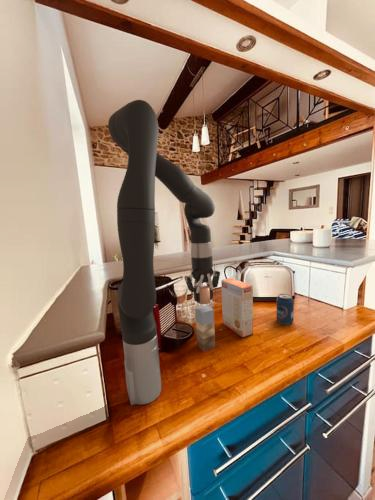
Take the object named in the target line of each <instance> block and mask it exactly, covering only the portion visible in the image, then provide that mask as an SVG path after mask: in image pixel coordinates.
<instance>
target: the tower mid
mask: <svg viewBox="0 0 375 500" xmlns="http://www.w3.org/2000/svg"><path fill="white" fill-rule="evenodd" d="M195 329H196V330H195V331H196V335H197V334H198V335H199V336H200V337H201V338H203V339H204V338H207V337H210V336H213V335H215V334H216V332H215V322H214V323H211V324H207V325H204V326H202V325H201V324H199V323H198V322H197V321H196V320H195Z"/></svg>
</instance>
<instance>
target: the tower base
mask: <svg viewBox="0 0 375 500" xmlns="http://www.w3.org/2000/svg"><path fill="white" fill-rule="evenodd" d="M196 345H197V346H198V347H199V349H200V350H202V352H206V351H210V350H212V349H215V348H216V336H215V335H213V336H210V337H207V338H204V339H203V338H201V337H200V336H199V335H198V334H197V333H196Z"/></svg>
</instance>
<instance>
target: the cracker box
mask: <svg viewBox="0 0 375 500" xmlns="http://www.w3.org/2000/svg"><path fill="white" fill-rule="evenodd" d="M253 289H254V288H253V285H252V284H249V283H247V282H243V281H241V280H238V279H236V278H233V277H229V278H225V279H221V306H222V307H221V309H222V314H221V315H222V324H223V325H224V326H226V327H227V328H229V329H230V330H231V331H232V332H234V333H236V335H238V336H240V337H241V338H245V337H248V336H251V335H253V334H254V313H253V312H254V307H253V305H254V301H253V299H254V298H253V291H254V290H253Z"/></svg>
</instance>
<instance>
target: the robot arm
mask: <svg viewBox="0 0 375 500" xmlns="http://www.w3.org/2000/svg"><path fill="white" fill-rule="evenodd" d="M107 123H108V124H107V127H108V132H109V135H110V138H111V139H112V141H113V142H114V143H115V144H116V145H117V146H118V147H119V149H121V150H122V151H123V152H125V153H126V154H127V155H128V156H127V157H128V158H127V166H126V167H127V168H126V171H125V173H124V178H123V180H122V183H121V186H120V189H119V193H118V196H117V204H116V217H117V218H116V224H117V234H118V240H119V247H120V250H121V251H120V252H121V257H122V267H123V274H122V281H121V283H120V284H119V286H118V288H117V292H116V293H117V294H116V295H117V296H116V297H117V298H116V299H117V307H118V316H119V324H120V330H121V335H122V345H123V353H124V360H123V362H124V363H123V364H124V374H125V381H126V383H125V384H126V390H127V391H126V392H127V393H128V398H129V402H130V406H134V405H147V404H150V403H152V402H153V401H155V400H156V399H157V398H158V397H159V396H160V394H161V393H162V378H161V367H160V354H159V353H160V352H159V343H158V330H157V329H158V328H157V323H156V320H155V316H154V309H155V306H156V303H157V290H156V288H157V287H156V282H155V281H156V280H155V270H154V257H155V256H154V254H155V230H156V229H155V228H156V227H155V226H156V223H155V222H156V206H155V194H156V193H155V191H156V178H157V179H158V181H160V182H161V183H162V185H164V186H165V188H167V189H168V190H169V192H170V193H171V194H172V195H173V196H174V197H175V199H177V200H178V201H179V202H180V203H183V204H184V209H183V210H184V215H185V219H186V223H187V225H188V228H189V231H190V243H191V244H190V257H191V259H190V260H191V274H188V275H185V276H184V281H185V283H186V286H187V290H188V291H189V292H191V293H193V300H194V301H195V302H196V303H198V304H199V303H200V293H199V290H200V287H201V286H203V284H204V283H205V284H206V286H209V287H210V301H212V300H213V298H214V289H215V288H218V286H219V281H220V275H221V271H219V270H214V269H213V267H214V263H213V247H212V237H211V236H212V235H211V228H210V226H209V225H207V224H203V223H202V221H201V219H207V218H211V217H212V216H213V215H214V213H215V209H216V207H215V202H214V200H213V198H212V197H211V196H210V195H208V193H206V192H205V191H203V190H202V189H201V188H199V186H196V184H195V183H194V182H193V181H192V179H191V178H190V176H188V174H187V173H186V172H185V171H184V170H183V169H182V168H181V167H179V166H178V165H177V164H175V163H174V162H172V161H170V160H169V159H168V158H165V157H164V156H163V155H162V154H160V153H159V152H158V145H159V132H160V131H159V130H160V129H159V122H158V118H157V115H156V112H155V110H154V107H152V106H151V104H150V103H148V102H147V101H146V100H143V99H135V100H132V101H130V102H128V103H126V104H124V105H123V106H122V107H120V108H119V109H118V110H116V111H114V113H112V115H110V116H109V119H108V122H107ZM193 279H194V281H193Z"/></svg>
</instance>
